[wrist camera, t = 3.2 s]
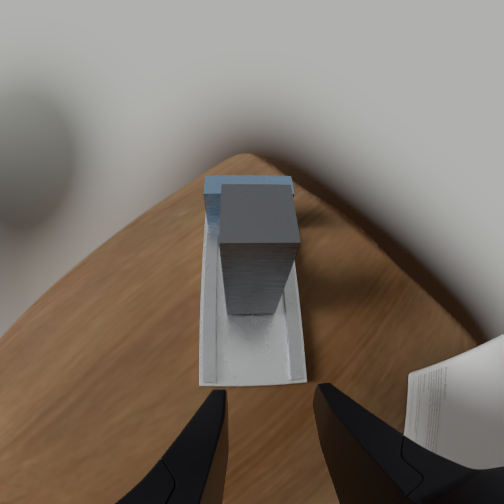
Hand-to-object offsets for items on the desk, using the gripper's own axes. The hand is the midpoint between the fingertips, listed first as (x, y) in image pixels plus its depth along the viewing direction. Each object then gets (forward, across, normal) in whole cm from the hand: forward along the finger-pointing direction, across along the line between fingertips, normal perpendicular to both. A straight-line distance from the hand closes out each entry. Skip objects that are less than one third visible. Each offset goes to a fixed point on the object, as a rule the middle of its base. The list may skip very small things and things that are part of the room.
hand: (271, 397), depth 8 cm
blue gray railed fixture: (+14, 0, +2) cm, 15 cm away
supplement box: (+5, -16, +12) cm, 21 cm away
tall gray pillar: (+15, 0, 0) cm, 15 cm away
